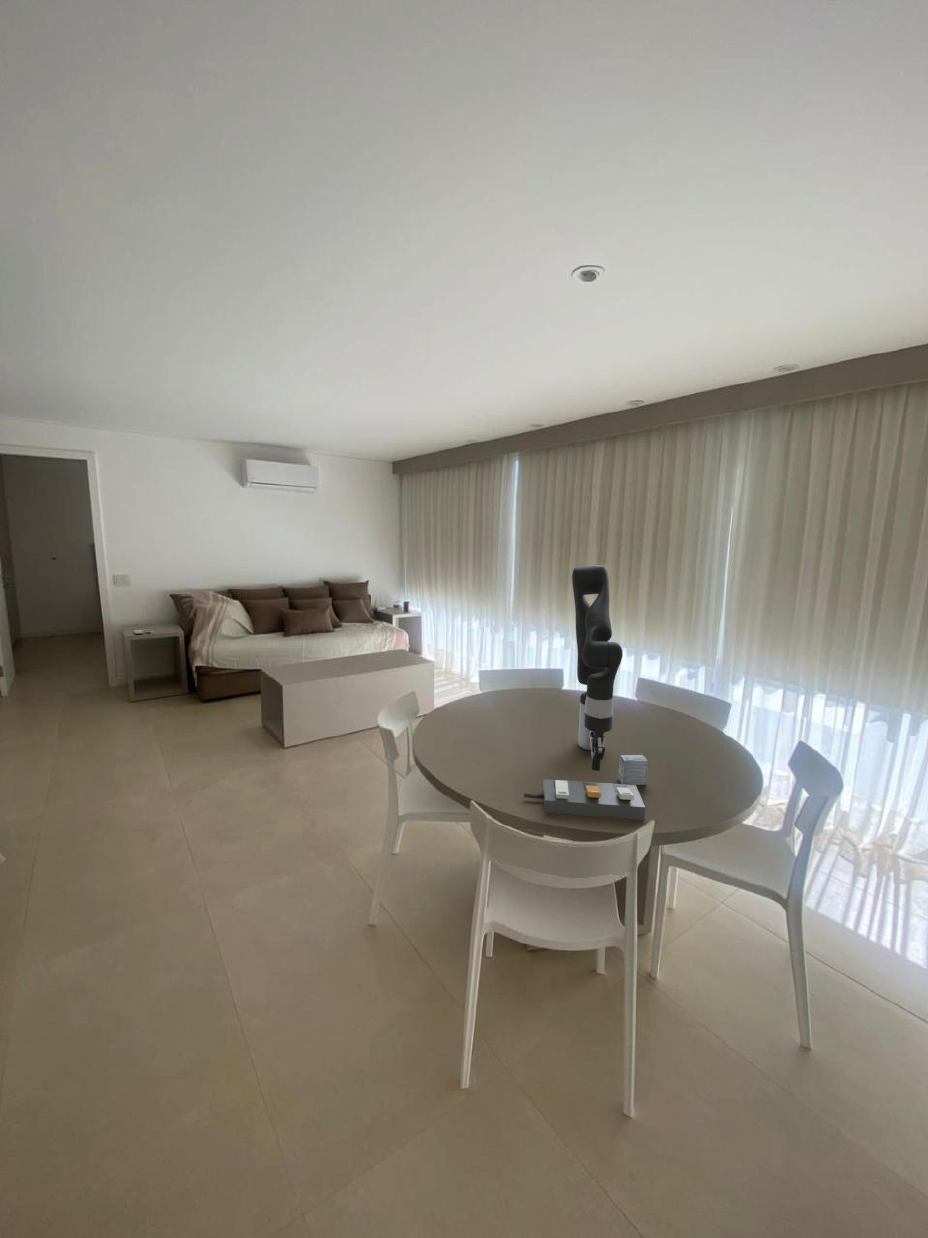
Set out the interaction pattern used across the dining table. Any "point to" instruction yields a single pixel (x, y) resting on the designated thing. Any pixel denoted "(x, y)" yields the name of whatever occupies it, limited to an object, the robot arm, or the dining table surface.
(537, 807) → the dining table surface
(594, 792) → the rocker
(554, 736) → the dining table surface
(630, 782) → the medicine box
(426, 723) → the dining table surface
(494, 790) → the dining table surface
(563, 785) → the plate
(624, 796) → the rocker
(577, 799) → the power strip
